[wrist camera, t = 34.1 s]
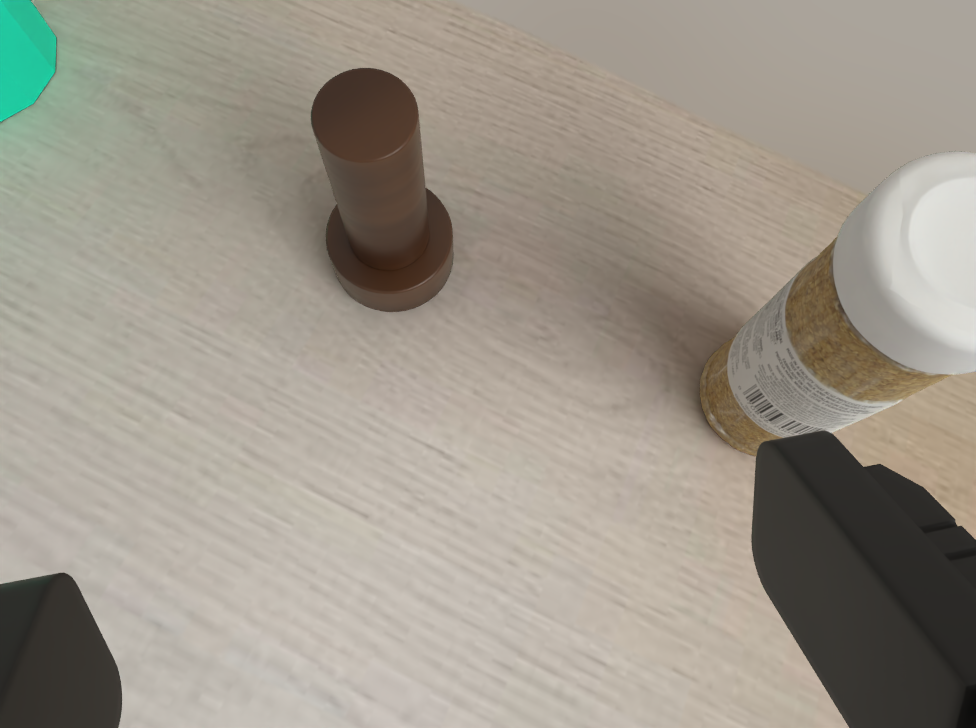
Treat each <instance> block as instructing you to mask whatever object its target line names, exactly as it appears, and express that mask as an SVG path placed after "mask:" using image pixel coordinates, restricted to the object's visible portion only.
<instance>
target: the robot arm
mask: <svg viewBox="0 0 976 728" xmlns="http://www.w3.org/2000/svg"><path fill="white" fill-rule="evenodd" d="M752 551H753V557H754V562H755V566H756V569H757V572H758V575H759V578H760V581H761V583H762V585H763V587H764V589H765V591H766V593H767V595H768V596H769V598H770V599H771V601H772V603H773V604H774V606H775V608H776V609H777V611H778V612H779V614H780V616H781V617H782V619H783V621H784V622H785V624H786V625H787V627H788V629H789V630H790V632H791V634H792V635H793V637H794V638H795V640H796V642H797V643H798V645H799V647H800V648H801V650H802V651H803V653H804V655H805V656H806V658H807V660H808V661H809V663H810V664H811V666H812V668H813V669H814V671H815V673H816V674H817V676H818V677H819V679H820V681H821V682H822V684H823V686H824V687H825V689H826V690H827V692H828V694H829V695H830V697H831V699H832V700H833V702H834V703H835V705H836V707H837V708H838V710H839V712H840V713H841V715H842V716H843V718H844V720H845V721H846V723H847V725H848V726H849V728H976V540H975V539H974V538H973V537H972V536H971V535H970V534H969V533H968V532H967V531H966V530H965V529H964V528H963V527H962V526H957V525H956V523H955V519H954V518H953V517H952V516H951V515H950V514H949V513H948V512H947V511H946V510H945V509H944V508H943V507H942V506H941V505H940V504H939V503H938V502H937V501H936V500H935V499H934V498H933V497H932V496H931V495H930V493H929V492H928V491H927V490H926V489H925V488H923V487H922V486H920V485H918V484H916V483H914V482H912V481H911V480H909V479H907V478H905V477H903V476H901V475H900V474H898V473H896V472H894V471H892V470H890V469H889V468H887V467H885V466H883V465H881V464H877V465H872V466H867V467H863V466H862V465H861V464H860V463H859V462H858V461H857V460H856V458H855V457H854V456H853V455H852V454H851V453H850V452H849V451H848V450H847V449H846V448H845V447H844V445H843V444H842V443H841V442H840V441H839V440H838V439H837V438H836V437H835V436H834V435H833V434H831V433H830V432H828V431H825V430H824V431H817V432H811V433H806V434H801V435H795V436H790V437H785V438H780V439H774V440H769V441H764V442H762V443H761V444H760V445H759V448H758V450H757V455H756V469H755V486H754V503H753V521H752ZM121 710H122V688H121V681H120V676H119V671H118V668H117V665H116V663H115V661H114V658H113V656H112V654H111V652H110V650H109V648H108V646H107V644H106V642H105V640H104V638H103V636H102V634H101V632H100V630H99V628H98V626H97V624H96V622H95V620H94V618H93V616H92V614H91V612H90V610H89V608H88V606H87V604H86V602H85V600H84V598H83V596H82V593H81V591H80V589H79V587H78V586H77V584H76V582H75V581H74V579H73V578H72V577H71V576H69V575H68V574H66V573H57V574H52V575H47V576H41V577H36V578H31V579H26V580H20V581H15V582H10V583H4V584H0V728H118V726H119V722H120V718H121Z"/></svg>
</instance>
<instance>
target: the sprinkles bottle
mask: <svg viewBox="0 0 976 728" xmlns="http://www.w3.org/2000/svg"><path fill="white" fill-rule="evenodd" d="M971 372H976V153H973V152H962V151H959V152H955V151H954V152H942V153H935V154H931V155H927V156H924V157H921V158H918V159H915V160H913V161H910V162H909V163H907V164H905V165H904V166H902V167H900V168H899V169H897V170H896V171H894V172H893V173H891V174H890V175H889V176H888V177H887V178H886V179H885V180H884V181H882V182H881V183H880V184H879V185H878V186H877V187H876V188H875V189H874V190H873V191H872V192H871V193H870V194H869V195H868V196H867V197H866V198H865V199H864V200H863V201H862V202H861V203H860V204H859V205H858V206H856V208H855V209H854V210H853V211H852V212H851V213H850V214H849V216H848V217H847V219H846V220H845V222H844V223H843V225H842V227H841V229H840V232H839V234H838V236H837V237H836V238H835V239H834V240H833V242H832V243H831V244H830V245H829V246H828V247H826V248H825V249H824V250H823V251H822V252H821V253H820V254H819V255H818V256H817V257H815V258H814V259H812V260H811V261H810V262H808V263H807V264H806V265H805V266H804V267H803V268H802V269H801V270H800V271H799V272H798V273H797V274H796V275H795V276H794V277H793V278H792V279H791V280H790V281H789V282H788V283H787V284H786V285H785V286H784V287H783V288H782V289H781V290H780V291H779V292H778V293H777V294H776V295H775V296H774V297H773V298H772V299H771V300H770V301H769V302H768V303H767V304H765V305H764V306H763V307H762V308H761V309H760V310H759V311H758V312H757V313H756V314H755V315H754V316H753V317H752V318H751V319H750V320H749V321H748V322H747V323H746V324H745V325H744V326H743V327H742V328H741V329H740V331H739V332H738V333H737V335H736V336H735V337H734V338H733V339H731V340H729V341H728V342H726V343H725V344H723V345H722V346H721V347H720V348H719V349H718V350H717V351H716V352H714V353H713V355H712V356H711V357H710V359H709V360H708V362H707V363H706V365H705V368H704V371H703V373H702V376H701V379H700V399H701V404H702V409H703V411H704V413H705V416H706V418H707V420H708V422H709V424H710V426H711V427H712V428H713V430H714V431H715V432H716V433H717V434H718V435H719V436H720V437H721V438H722V439H723V440H724V441H726V442H728V443H729V444H730V445H731V446H732V447H734V448H735V449H737V450H739V451H742V452H745V453H747V454H749V455H754V456H756V455H757V450H758V448H759V445H760V444H761V443H762V442H764V441H769V440H774V439H780V438H785V437H790V436H795V435H801V434H806V433H811V432H817V431H824V430H825V431H828V432H830V433H833V432H835V431H837V430H840V429H842V428H844V427H846V426H849V425H851V424H853V423H855V422H858V421H860V420H862V419H865V418H867V417H869V416H871V415H873V414H875V413H878V412H880V411H882V410H884V409H887V408H889V407H891V406H893V405H895V404H897V403H899V402H901V401H902V400H904V399H905V398H907V397H908V396H910V395H912V394H914V393H916V392H918V391H920V390H923V389H925V388H927V387H928V386H930V385H933V384H935V383H937V382H939V381H941V380H943V379H944V378H946V377H949V376H951V375H953V374H964V373H971Z"/></svg>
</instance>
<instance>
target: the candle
mask: <svg viewBox="0 0 976 728" xmlns="http://www.w3.org/2000/svg"><path fill="white" fill-rule="evenodd" d="M56 40H57V38H56V36H55V35H54V33H53V32H52V30H51V29H50V27H49V26H48V25H47V23H46V22H45V20H44V19H43V17H42V16H41V14H40V13H39V11H38V10H37V9H36V7H35V6H34V4H33V3H32V2H31V0H0V122H1V121H3V120H5V119H7V118H9V117H10V116H12V115H14V114H16V113H18V112H19V111H21V110H23V109H25V108H27V107H28V106H30V105H32V104H34V102H35V101H36V99H37V98H38V96H39V95H40V93H41V92H42V91H43V89H44V88H45V86H46V85H47V83H48V82H49V80H50V79H51V77H52V76H53V75H54V73H55V66H56Z"/></svg>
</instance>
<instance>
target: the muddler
mask: <svg viewBox="0 0 976 728" xmlns="http://www.w3.org/2000/svg"><path fill="white" fill-rule="evenodd" d="M311 124H312V128H313V132H314V135H315V138H316V141H317V144H318V147H319V150H320V153H321V156H322V160H323V163H324V166H325V169H326V172H327V175H328V178H329V181H330V184H331V187H332V191H333V194H334V197H335V200H336V203H337V204H336V206H335V208H334V209H333V211H332V213H331V215H330V217H329V220H328V224H327V229H326V246H327V251H328V254H329V257H330V260H331V262H332V265H333V267H334V270H335V272H336V275H337V277H338V279H339V281H340V283H341V285H342V286H343V288H344V289H345V290H346V292H347V293H348V294H349V295H350V296H351V297H352V298H354V299H355V300H356V301H358V302H359V303H361V304H363V305H365V306H367V307H369V308H372V309H375V310H380V311H386V312H399V311H406V310H409V309H413V308H416V307H418V306H420V305H422V304H424V303H426V302H427V301H429V300H430V299H431V298H433V297H434V296H435V295H436V294H437V293H438V292H439V291H440V290H441V288H442V287H443V286H444V284H445V283H446V281H447V279H448V277H449V275H450V272H451V268H452V264H453V233H452V224H451V220H450V217H449V214H448V212H447V210H446V208H445V207H444V205H443V204H442V202H441V201H440V200H439V199H438V198H437V196H436V195H434V194H433V193H432V192H431V191H430V190H428V189H427V188H425V177H424V167H423V156H422V145H421V134H420V124H419V113H418V106H417V102H416V99H415V97H414V95H413V93H412V92H411V90H410V89H409V88H408V86H407V85H406V84H405V83H404V82H402V81H401V80H400V79H399V78H397V77H396V76H394V75H392V74H390V73H388V72H386V71H383V70H379V69H373V68H358V69H352V70H348V71H345V72H343V73H340V74H338V75H337V76H335V77H333V78H332V79H330V80H329V81H328V82H327V83H326V84H325V85H324V86H323V87H322V88H321V89H320V91H319V92H318V94H317V96H316V98H315V100H314V102H313V105H312V110H311Z"/></svg>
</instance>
